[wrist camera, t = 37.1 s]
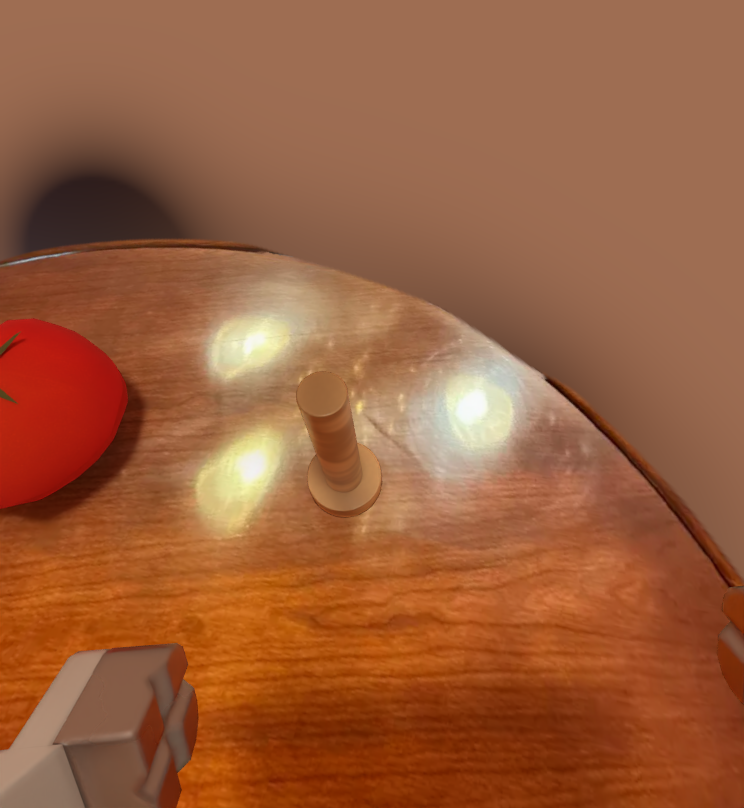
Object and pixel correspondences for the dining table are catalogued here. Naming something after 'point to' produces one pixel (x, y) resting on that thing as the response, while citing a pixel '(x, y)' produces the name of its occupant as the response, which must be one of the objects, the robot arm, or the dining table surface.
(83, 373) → the tomato
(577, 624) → the dining table surface
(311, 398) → the wooden peg stand
